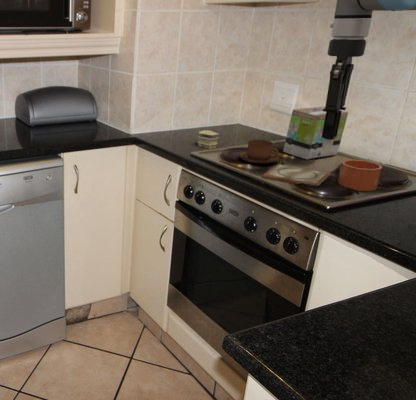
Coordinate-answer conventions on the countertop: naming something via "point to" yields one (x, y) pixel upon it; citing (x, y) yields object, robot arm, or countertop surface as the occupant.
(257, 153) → the cup and saucer
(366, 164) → the pen cup
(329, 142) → the marker
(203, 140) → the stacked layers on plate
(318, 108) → the tea box
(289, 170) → the tan flat square slab
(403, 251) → the countertop surface
